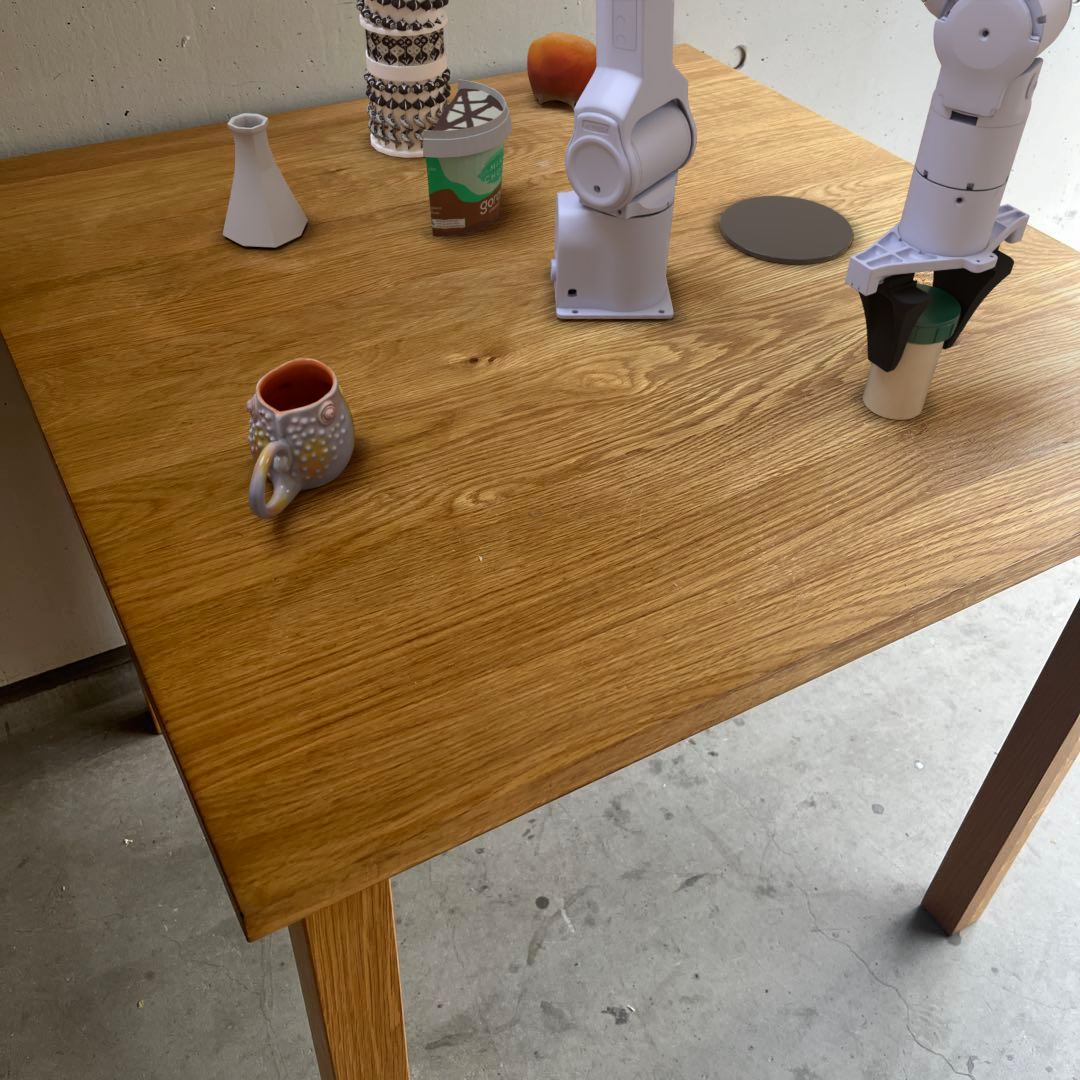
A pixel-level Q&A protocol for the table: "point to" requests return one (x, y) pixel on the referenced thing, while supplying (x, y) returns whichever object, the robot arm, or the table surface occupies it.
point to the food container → (467, 160)
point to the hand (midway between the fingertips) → (909, 353)
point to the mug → (297, 433)
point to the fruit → (560, 67)
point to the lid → (936, 318)
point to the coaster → (786, 230)
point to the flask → (259, 190)
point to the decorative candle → (404, 72)
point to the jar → (903, 383)
